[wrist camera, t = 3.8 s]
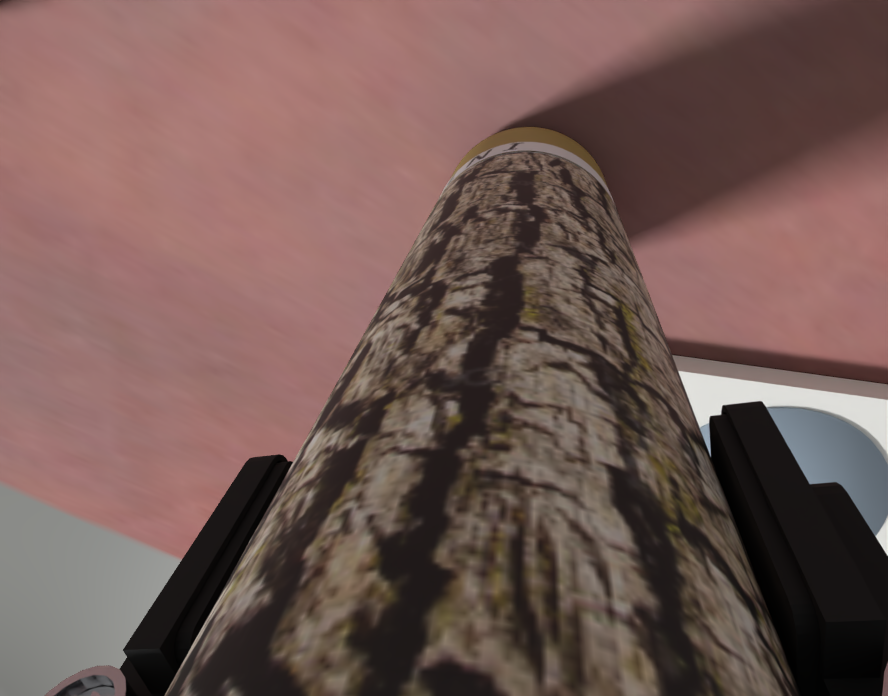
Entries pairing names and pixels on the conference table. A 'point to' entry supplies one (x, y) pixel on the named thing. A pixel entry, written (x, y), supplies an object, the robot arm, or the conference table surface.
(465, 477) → the paper tube
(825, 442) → the holder board
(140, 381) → the conference table surface
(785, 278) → the conference table surface
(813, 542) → the robot arm
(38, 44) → the conference table surface
